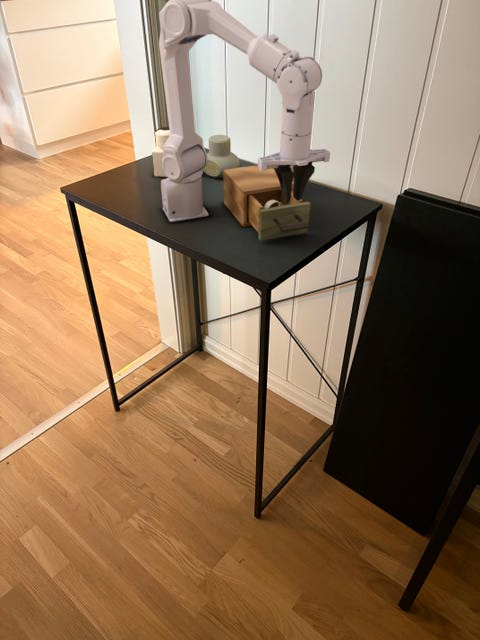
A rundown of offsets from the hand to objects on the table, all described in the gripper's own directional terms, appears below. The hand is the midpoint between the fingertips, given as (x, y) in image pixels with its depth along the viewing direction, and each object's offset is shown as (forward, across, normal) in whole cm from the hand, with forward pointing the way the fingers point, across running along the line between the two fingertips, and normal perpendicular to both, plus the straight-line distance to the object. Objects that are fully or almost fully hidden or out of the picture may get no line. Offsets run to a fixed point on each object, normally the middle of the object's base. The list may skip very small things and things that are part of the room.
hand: (291, 199), depth 100 cm
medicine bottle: (+11, -14, +49) cm, 52 cm away
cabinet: (+10, 0, +18) cm, 21 cm away
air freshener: (+11, -1, +43) cm, 44 cm away
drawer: (+9, 0, +6) cm, 11 cm away
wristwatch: (+9, -1, +7) cm, 11 cm away
